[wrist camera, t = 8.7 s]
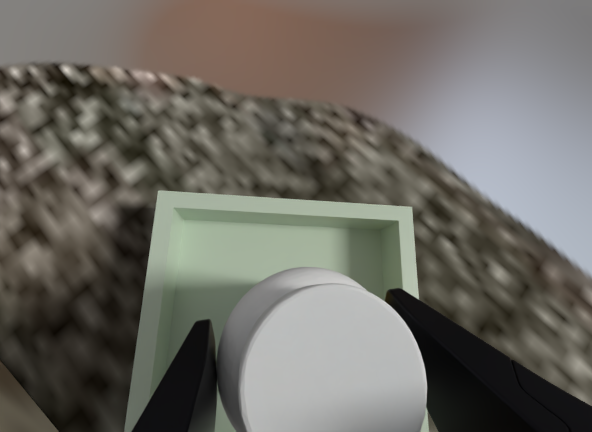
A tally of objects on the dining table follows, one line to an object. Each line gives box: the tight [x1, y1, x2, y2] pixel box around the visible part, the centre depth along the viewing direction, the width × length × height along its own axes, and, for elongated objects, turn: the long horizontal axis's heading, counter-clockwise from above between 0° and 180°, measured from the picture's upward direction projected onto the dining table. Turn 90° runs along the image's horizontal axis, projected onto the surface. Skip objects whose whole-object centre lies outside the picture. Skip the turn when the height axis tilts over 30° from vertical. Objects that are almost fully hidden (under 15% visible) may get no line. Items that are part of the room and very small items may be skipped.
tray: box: [124, 191, 429, 432], centre depth 16 cm, size 13×13×3 cm
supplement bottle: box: [216, 267, 427, 432], centre depth 11 cm, size 5×5×10 cm
